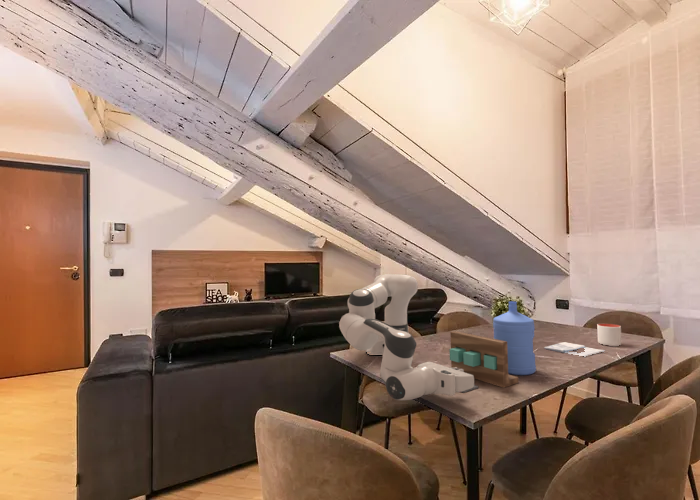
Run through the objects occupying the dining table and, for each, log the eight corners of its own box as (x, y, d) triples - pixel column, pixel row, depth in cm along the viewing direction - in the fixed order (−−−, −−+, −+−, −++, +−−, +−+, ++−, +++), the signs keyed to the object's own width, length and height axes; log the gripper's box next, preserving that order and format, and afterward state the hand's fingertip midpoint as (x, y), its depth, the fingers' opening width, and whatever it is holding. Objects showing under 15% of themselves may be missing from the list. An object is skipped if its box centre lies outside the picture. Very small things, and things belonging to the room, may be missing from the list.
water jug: (516, 378, 140) (514, 305, 141) (486, 367, 154) (484, 301, 155) (544, 372, 146) (542, 302, 147) (513, 362, 160) (511, 298, 161)
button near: (494, 369, 132) (494, 357, 132) (484, 366, 136) (483, 355, 136) (506, 366, 136) (505, 354, 136) (495, 363, 139) (495, 352, 140)
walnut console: (503, 387, 130) (502, 342, 130) (451, 371, 150) (450, 332, 151) (518, 382, 135) (517, 339, 135) (466, 367, 155) (465, 329, 155)
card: (463, 392, 126) (463, 390, 126) (433, 381, 138) (433, 379, 138) (478, 388, 130) (478, 385, 130) (448, 377, 142) (448, 375, 142)
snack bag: (565, 345, 192) (565, 340, 192) (607, 353, 174) (607, 348, 174) (542, 349, 183) (542, 345, 183) (584, 359, 165) (584, 354, 165)
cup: (626, 346, 184) (625, 327, 184) (606, 347, 184) (605, 327, 184) (612, 342, 194) (611, 323, 194) (593, 342, 194) (592, 323, 194)
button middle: (473, 366, 136) (472, 354, 136) (463, 364, 140) (463, 352, 140) (485, 363, 140) (484, 352, 140) (475, 360, 144) (475, 349, 144)
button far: (458, 362, 142) (458, 351, 142) (449, 360, 146) (449, 349, 146) (470, 359, 146) (469, 348, 146) (461, 357, 150) (461, 346, 150)
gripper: (409, 379, 127) (438, 372, 134) (456, 397, 109) (485, 388, 117) (409, 361, 127) (437, 354, 134) (455, 376, 109) (485, 368, 117)
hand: (460, 370), depth 125 cm, fingers closed
